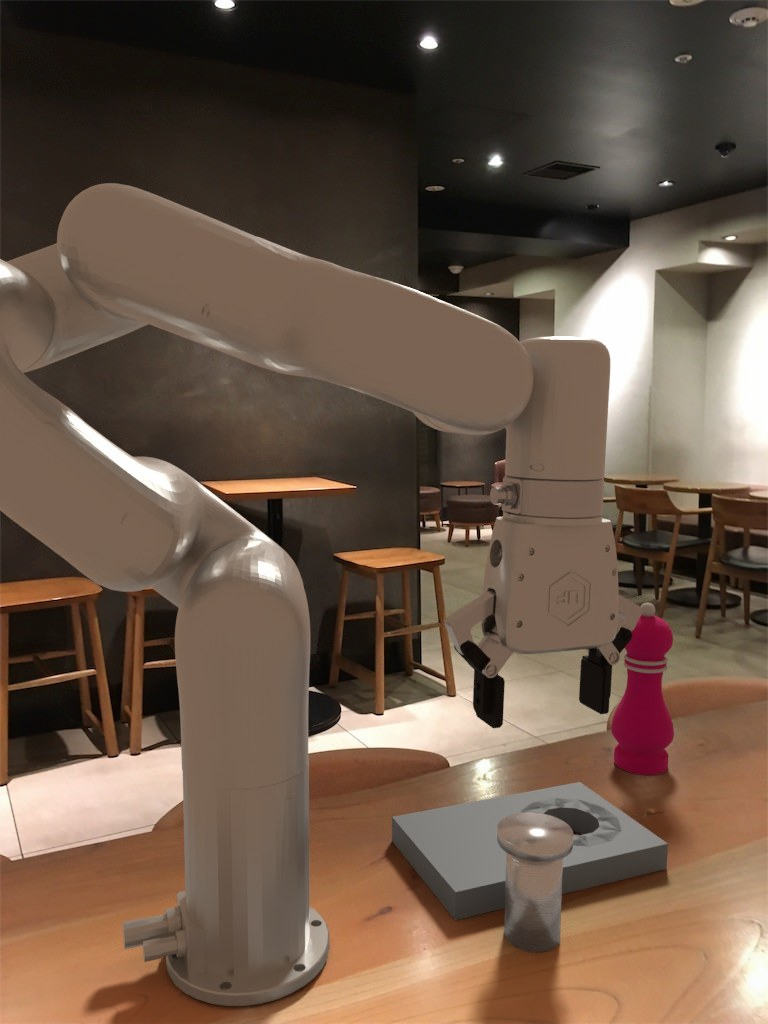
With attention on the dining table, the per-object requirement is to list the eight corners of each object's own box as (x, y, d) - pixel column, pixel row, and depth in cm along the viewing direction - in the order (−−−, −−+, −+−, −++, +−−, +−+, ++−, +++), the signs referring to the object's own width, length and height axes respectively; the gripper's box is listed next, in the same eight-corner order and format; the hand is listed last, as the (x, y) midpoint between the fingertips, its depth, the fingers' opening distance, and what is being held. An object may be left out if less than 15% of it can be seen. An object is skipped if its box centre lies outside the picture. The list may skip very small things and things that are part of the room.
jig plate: (455, 920, 70) (455, 892, 70) (391, 840, 83) (392, 816, 83) (666, 868, 78) (667, 843, 78) (579, 803, 91) (579, 781, 91)
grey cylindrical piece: (519, 966, 64) (522, 855, 63) (481, 921, 70) (484, 819, 69) (584, 948, 67) (588, 840, 65) (543, 906, 72) (546, 807, 71)
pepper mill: (676, 780, 97) (684, 611, 95) (611, 774, 99) (618, 608, 96) (668, 755, 104) (675, 597, 102) (608, 750, 106) (614, 594, 103)
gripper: (476, 508, 58) (467, 746, 60) (676, 504, 64) (662, 719, 66) (430, 497, 65) (423, 711, 67) (615, 494, 71) (604, 689, 73)
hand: (542, 715), depth 67 cm, fingers open, 9 cm apart
